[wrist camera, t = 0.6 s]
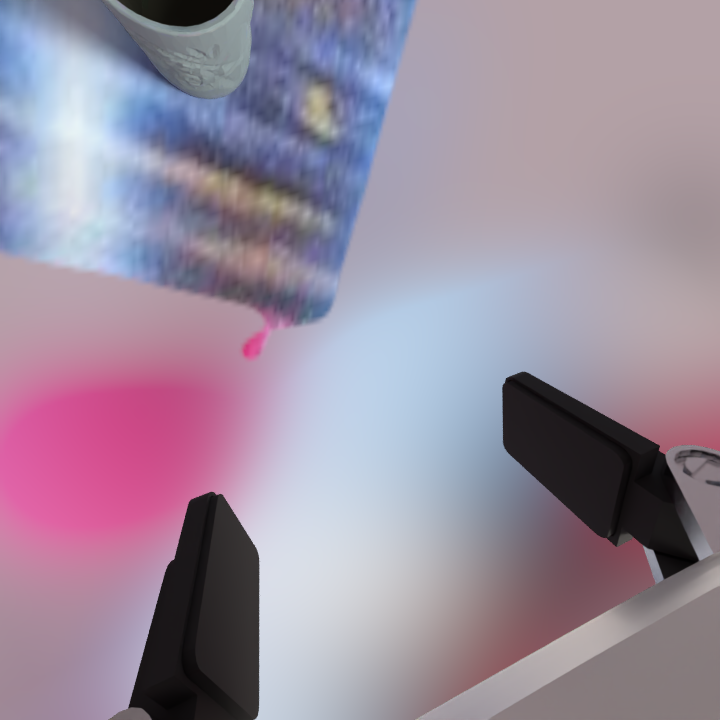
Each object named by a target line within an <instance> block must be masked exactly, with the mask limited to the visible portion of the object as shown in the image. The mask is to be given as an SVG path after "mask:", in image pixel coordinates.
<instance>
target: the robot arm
mask: <svg viewBox="0 0 720 720" xmlns="http://www.w3.org/2000/svg"><path fill="white" fill-rule="evenodd" d="M502 390H503V391H502V392H503V444H504V447H505V449H506V450H507V452H508V453H509V454H510V455H511V456H512V457H513V458H514V459H515V460H516V461H517V462H519V463H520V464H521V465H522V466H523V467H524V468H525V469H526V470H527V471H528V472H529V473H531V474H532V475H533V476H534V477H535V478H536V479H537V480H538V481H539V482H540V483H541V484H543V485H544V486H545V487H546V488H547V489H548V490H549V491H550V492H551V493H553V495H554V496H556V497H557V498H558V499H559V500H560V501H561V502H562V503H563V504H564V505H566V507H567V508H569V509H570V510H571V511H572V512H573V513H574V514H575V515H576V516H577V517H578V518H580V519H581V520H582V521H583V522H584V523H585V524H586V525H587V526H588V527H589V528H590V529H592V530H593V531H594V532H595V533H596V534H597V535H599V536H600V537H603V538H607V539H608V540H609V541H610V542H612V543H613V544H614V545H615V546H616V547H618V546H620V545H622V544H623V543H625V542H627V541H629V540H631V539H632V538H633V537H634V538H635V539H636V540H638V541H639V542H640V543H641V544H642V545H643V547H644V550H645V553H646V556H647V559H648V562H649V565H650V568H651V571H652V574H653V577H654V580H655V582H656V584H655V585H653V586H652V587H650V588H648V589H646V590H644V591H643V592H641V593H639V594H637V595H635V596H634V597H632V598H630V599H628V600H627V601H625V602H623V603H621V604H619V605H618V606H616V607H614V608H612V609H610V610H609V611H607V612H605V613H603V614H602V615H600V616H598V617H596V618H594V619H592V620H591V621H589V622H587V623H585V624H583V625H582V626H580V627H578V628H576V629H575V630H573V631H571V632H569V633H567V634H566V635H564V636H562V637H560V638H559V639H557V640H555V641H553V642H551V643H550V644H548V645H546V646H544V647H543V648H541V649H539V650H537V651H536V652H534V653H532V654H530V655H528V656H527V657H525V658H523V659H521V660H520V661H518V662H516V663H514V664H512V665H511V666H509V667H507V668H506V669H504V670H502V671H500V672H498V673H497V674H495V675H493V676H491V677H490V678H488V679H486V680H484V681H483V682H481V683H479V684H477V685H475V686H474V687H472V688H470V689H468V690H467V691H465V692H463V693H461V694H460V695H458V696H456V697H454V698H452V699H451V700H449V701H447V702H445V703H444V704H442V705H440V706H438V707H437V708H435V709H433V710H431V711H430V712H428V713H426V714H425V715H423V716H421V717H419V718H417V719H416V720H720V451H717V450H713V449H710V448H707V447H701V446H695V445H681V446H676V447H673V448H671V449H670V450H668V451H667V453H666V455H665V454H663V453H661V452H660V451H659V447H660V446H659V445H657V444H655V443H654V442H652V441H650V440H648V439H646V438H645V437H643V436H641V435H639V434H637V433H635V432H633V431H632V430H630V429H628V428H627V427H625V426H623V425H621V424H619V423H617V422H616V421H614V420H612V419H610V418H608V417H607V416H605V415H603V414H601V413H599V412H598V411H596V410H594V409H592V408H590V407H589V406H587V405H585V404H583V403H581V402H580V401H578V400H576V399H574V398H572V397H570V396H569V395H567V394H565V393H563V392H561V391H559V390H558V389H556V388H554V387H552V386H550V385H549V384H547V383H545V382H543V381H542V380H540V379H538V378H536V377H534V376H532V375H531V374H529V373H527V372H520V373H518V374H515V375H512V376H510V377H508V378H506V381H505V383H504V384H503V388H502ZM258 711H259V555H258V552H257V549H256V547H255V545H254V544H253V542H252V541H251V539H250V538H249V536H248V535H247V533H246V531H245V530H244V528H243V527H242V525H241V523H240V522H239V520H238V518H237V517H236V515H235V514H234V512H233V510H232V509H231V507H230V506H229V504H228V503H227V501H226V499H225V498H224V497H223V495H222V494H219V495H216V494H215V493H214V492H209V493H207V494H204V495H202V496H199V497H196V498H194V499H192V500H190V502H189V504H188V508H187V512H186V515H185V520H184V523H183V527H182V532H181V535H180V539H179V543H178V547H177V551H176V555H175V559H174V560H172V561H171V562H170V563H169V565H168V566H167V569H166V572H165V575H164V579H163V583H162V586H161V590H160V593H159V597H158V601H157V604H156V608H155V612H154V615H153V619H152V623H151V626H150V630H149V634H148V638H147V641H146V645H145V649H144V652H143V656H142V660H141V663H140V667H139V671H138V675H137V678H136V682H135V685H134V690H133V693H132V697H131V700H130V704H129V707H128V709H126V710H123V711H121V712H119V713H117V714H116V715H114V716H113V717H112V718H110V719H109V720H254V719H256V717H257V716H258Z"/></svg>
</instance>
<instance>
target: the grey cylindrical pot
mask: <svg viewBox="0 0 720 720" xmlns="http://www.w3.org/2000/svg"><path fill="white" fill-rule="evenodd" d="M102 2H103V3H104V4H105V5H106V7H107V8H108V9H109V10H110V11H111V12H112V13H113V15H114V16H115V17H116V18H117V19H118V21H119V22H120V23H121V24H122V25H123V26H124V28H125V29H126V31H127V32H128V33H129V34H130V36H131V37H132V38H133V40H134V41H135V42H136V43H137V44H138V45H139V47H140V48H141V49H142V50H143V51H144V53H145V54H146V55H147V56H148V58H149V59H150V61H151V62H152V63H153V65H154V66H155V67H156V68H157V70H158V71H159V72H160V73H161V74H162V75H163V76H164V77H165V78H166V79H167V80H168V81H169V82H170V83H172V84H173V85H174V86H176V87H177V88H178V89H180V90H182V91H183V92H185V93H188V94H190V95H192V96H195V97H198V98H204V99H217V98H220V97H224V96H226V95H228V94H230V93H231V92H233V91H234V90H235V89H236V88H237V87H238V86H239V85H240V84H241V82H242V81H243V79H244V77H245V75H246V72H247V69H248V65H249V60H250V49H251V28H250V21H251V17H252V11H253V7H254V0H102Z"/></svg>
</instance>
